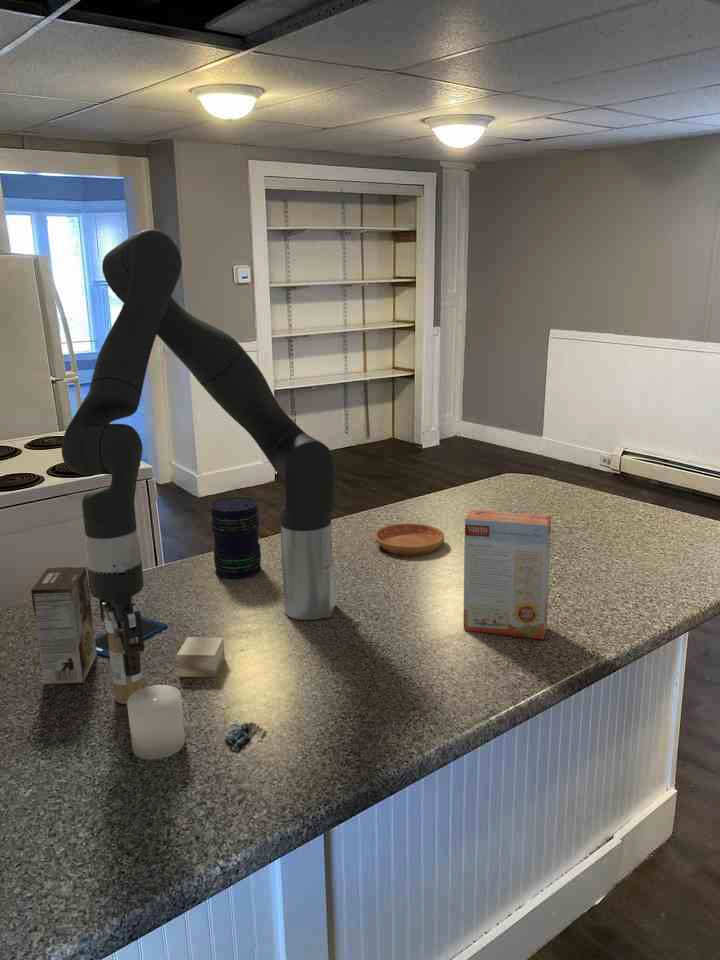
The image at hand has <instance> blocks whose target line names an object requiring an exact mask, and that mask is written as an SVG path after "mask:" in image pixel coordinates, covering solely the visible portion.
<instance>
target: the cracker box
mask: <svg viewBox="0 0 720 960" xmlns="http://www.w3.org/2000/svg"><path fill="white" fill-rule="evenodd" d="M551 524H552V516H551V515H548V514H547V515H546V514H531V513H520V512H518V513H516V512H504V511H493V510H480V509H479V510H478V509H471V510H470V512H469V514H468V515H467V516H466V518H464V554H463V556H464V561H463V562H464V563H463V565H464V566H463V567H464V568H463V630H464V631H469V632H470V631H471V632H478V633H479V632H481V633H485V634H486V633H487V634H495V635H503V636H510V637H511V636H512V637H520V638H527V639H535V640H544V638H545V634H546V630H547V626H548V607H549V606H548V605H549V583H550V581H549V580H550V560H551V559H550V558H551V557H550V556H551V555H550V554H551V533H552V531H551V528H552V527H551V526H552V525H551Z"/></svg>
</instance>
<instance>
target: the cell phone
mask: <svg viewBox="0 0 720 960" xmlns="http://www.w3.org/2000/svg"><path fill="white" fill-rule="evenodd" d="M141 624H142V633H143V642H144V641H145V640H148V639H149V638H151V637H153V636H154V635H156V634H159V633H160V632H162V631H164V630H166V629H168V624H166V623H164V622H160V621H158V620H154V619H151V618H148V617H145V616H144V617H143V616H141ZM95 643H96V651H97V656H99V657H102V658H104V659H105V658H106V659H110V655H109V647H108V638H107V632H106V633H104V634H102V635H100V636H98V637H95Z"/></svg>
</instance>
